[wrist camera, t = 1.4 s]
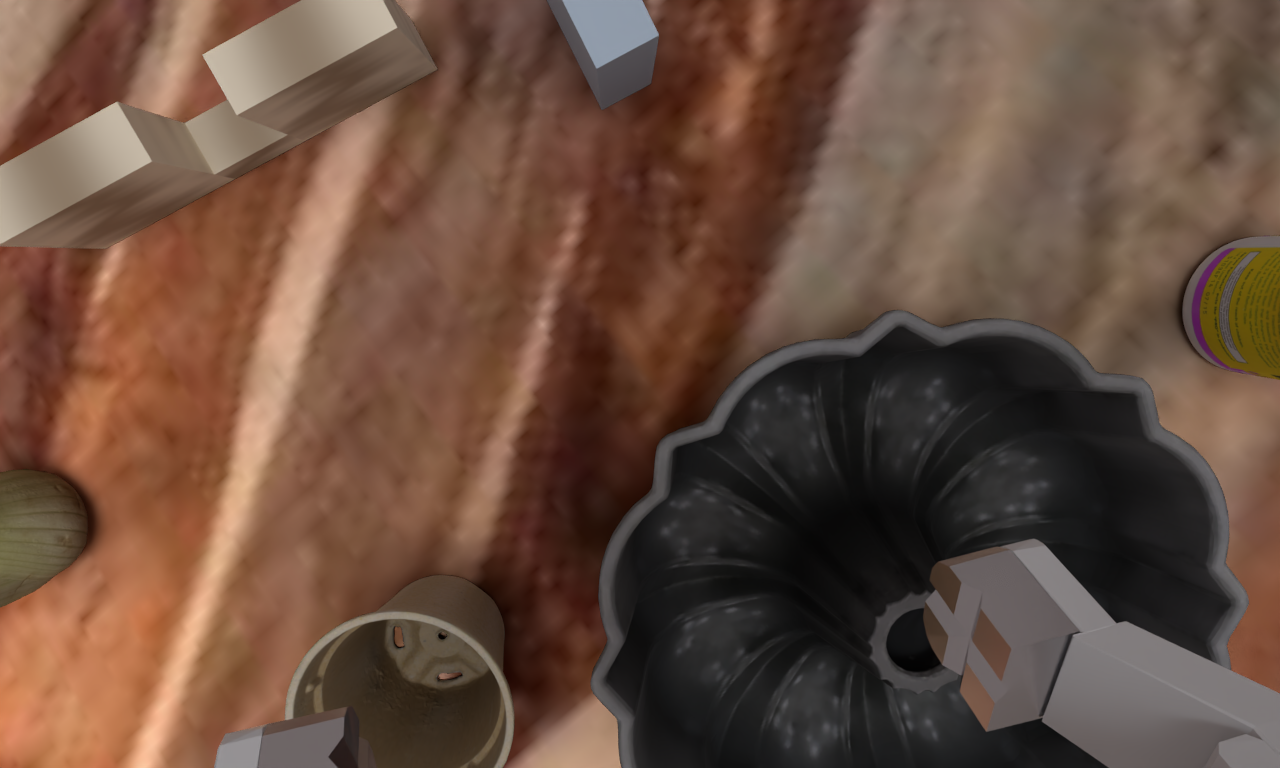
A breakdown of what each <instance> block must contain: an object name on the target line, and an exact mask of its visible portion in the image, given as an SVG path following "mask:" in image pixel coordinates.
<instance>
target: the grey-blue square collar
mask: <svg viewBox="0 0 1280 768" xmlns="http://www.w3.org/2000/svg"><path fill="white" fill-rule="evenodd" d="M547 2H548V4H549V6H550V8H551V10H552V12H553V14H554V16H555V18H556V20H557V22H558V24H559V26H560V28H561V30H562V32H563V34H564V36H565V38H566V40H567V42H568V44H569V46H570V48H571V50H572V52H573V54H574V56H575V58H576V60H577V62H578V64H579V66H580V68H581V70H582V72H583V73H584V75H585V77H586V79H587V81H588V83H589V85H590V87H591V89H592V91H593V93H594V95H595V97H596V99H597V101H598V103H599V105H600V107H601V109H602V110H603V109H605V108H607V107H609V106H610V105H612V104H614V103H616V102H618V101H620V100H622V99H624V98H625V97H627V96H629V95H631V94H633V93H635V92H637V91H639V90H641V89H642V88H644V87H646V86H648V85H650V84H651V81H652V75H653V69H654V63H655V57H656V51H657V45H658V39H659V34H658V32H657V30H656V28H655V26H654V24H653V22H652V20H651V18H650V16H649V14H648V11H647V9H646V7H645V5H644V3H643V1H642V0H547Z"/></svg>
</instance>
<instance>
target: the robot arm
mask: <svg viewBox="0 0 1280 768" xmlns="http://www.w3.org/2000/svg"><path fill="white" fill-rule="evenodd" d="M930 582H931V583H932V584H933V586H934V587H935V589H936V590H935V591H934V592H933V593H932V594H931V595H930V597H929V598H928V599H927V600H926V601H925V607H924V614H923V620H924V625H925V630H926V635H927V638H928V640H929V642H930V644H931V647H932V649H933V651H934V652H935V654H936V656H937V657H938V659H939V660H940V662H941V664H942V665H943V666H945V667H947V668H949V669H950V670H952V671H954V672H956V673H957V674H959V675H961V680H960V693H961V694H962V696H963V697H964V699H965V700H966V702H967V703H968V705H969V706H970V708H971V709H972V711H973V713H974V714H975V716H976V717H977V719H978V720H979V722H980V723H981V725H982V726H983V728H984V729H985V731H986V732H988V731H992V730H996V729H1000V728H1004V727H1008V726H1012V725H1016V724H1020V723H1024V722H1028V721H1032V720H1036V719H1040V718H1043V719H1042V722H1043V723H1045V724H1046V725H1048V726H1049V727H1051V728H1052V729H1054V730H1055V731H1056V732H1058V733H1059V734H1061V735H1062V736H1064V737H1065V738H1067V739H1068V740H1069V741H1071V742H1072V743H1074V744H1075V745H1077V746H1078V747H1080V748H1081V749H1083V750H1084V751H1085V752H1087V753H1088V754H1090V755H1091V756H1093V757H1094V758H1096V759H1097V760H1099V761H1100V762H1101V763H1103V764H1104V765H1106V766H1107V767H1109V768H1280V693H1277V692H1275V691H1273V690H1271V689H1269V688H1267V687H1265V686H1263V685H1260V684H1258V683H1256V682H1254V681H1252V680H1250V679H1248V678H1246V677H1244V676H1241V675H1239V674H1237V673H1235V672H1233V671H1231V670H1229V669H1227V668H1224V667H1222V666H1220V665H1218V664H1216V663H1214V662H1212V661H1210V660H1207V659H1205V658H1203V657H1201V656H1199V655H1197V654H1195V653H1193V652H1190V651H1188V650H1186V649H1184V648H1182V647H1180V646H1178V645H1176V644H1173V643H1171V642H1169V641H1167V640H1165V639H1163V638H1161V637H1159V636H1156V635H1154V634H1152V633H1150V632H1148V631H1146V630H1144V629H1142V628H1139V627H1137V626H1135V625H1133V624H1131V623H1129V622H1127V621H1124V622H1119V623H1116V622H1115V621H1114V620H1113V619H1112V618H1111V617H1110V616H1109V615H1108V613H1107V612H1106V611H1105V610H1104V609H1103V608H1102V607H1101V606H1100V605H1099V604H1098V603H1097V601H1096V600H1095V599H1094V598H1093V597H1092V596H1091V595H1090V594H1089V593H1088V592H1087V591H1086V589H1085V588H1084V587H1083V586H1082V585H1081V584H1080V583H1079V582H1078V581H1077V580H1076V578H1075V577H1074V576H1073V575H1072V574H1071V573H1070V572H1069V571H1068V570H1067V569H1066V568H1065V566H1064V565H1063V564H1062V563H1061V562H1060V561H1059V560H1058V559H1057V558H1056V557H1055V556H1054V554H1053V553H1052V552H1051V551H1050V550H1049V549H1048V548H1047V547H1046V546H1045V545H1044V544H1043V543H1042V542H1040V541H1038V540H1036V539H1029V540H1024V541H1020V542H1016V543H1013V544H1009V545H1005V546H1001V547H993V548H989V549H985V550H981V551H977V552H973V553H970V554H966V555H962V556H958V557H954V558H950V559H947V560H943V561H939V562H937V563H936V564H935V565H934V567H933V568H932V571H931V576H930ZM214 768H377V766H376V762H375V758H374V754H373V751H372V748H371V746H370V744H369V741H368V740H365V739H363V738H361V737H359V719H358V717H357V715H356V713H355V711H354V709H353V707H352V706H348V707H343V708H339V709H334V710H330V711H325V712H321V713H316V714H312V715H307V716H303V717H298V718H293V719H289V720H284V721H280V722H275V723H271V724H266V725H261V726H257V727H253V728H249V729H245V730H240V731H236V732H232V733H228V734H225V736H224V738H223V740H222V742H221V744H220V746H219V748H218V751H217V756H216V761H215V767H214Z"/></svg>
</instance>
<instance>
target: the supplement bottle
mask: <svg viewBox="0 0 1280 768" xmlns="http://www.w3.org/2000/svg"><path fill="white" fill-rule="evenodd" d="M1182 314H1183V323H1184V327H1185V330H1186V333H1187V335H1188V338H1189V340H1190V342H1191V343H1192V345H1193V346H1194V348H1195V349H1196V350H1197V351H1198V352H1199V354H1200V355H1201V356H1203V357H1204V358H1205V359H1206V360H1208V361H1209V362H1211V363H1212V364H1214V365H1216V366H1218V367H1220V368H1223V369H1226V370H1230V371H1234V372H1239V373H1244V374H1249V375H1255V376H1260V377H1267V378H1273V379H1278V380H1280V235H1279V236H1260V237H1249V238H1243V239H1240V240H1236V241H1233V242H1231V243H1229V244H1226V245H1224V246H1222V247H1221V248H1219V249H1217V250H1216V251H1214V252H1213V253H1212V254H1211V255H1209V256H1208V257H1207V258H1206V259H1205V260H1204V261H1203V262H1202V263H1201V264H1200V265H1199V267H1198V268H1197V269H1196V271H1195V272H1194V274H1193V275H1192V277H1191V279H1190V281H1189V283H1188V286H1187V288H1186V291H1185V295H1184V300H1183V309H1182Z"/></svg>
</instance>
